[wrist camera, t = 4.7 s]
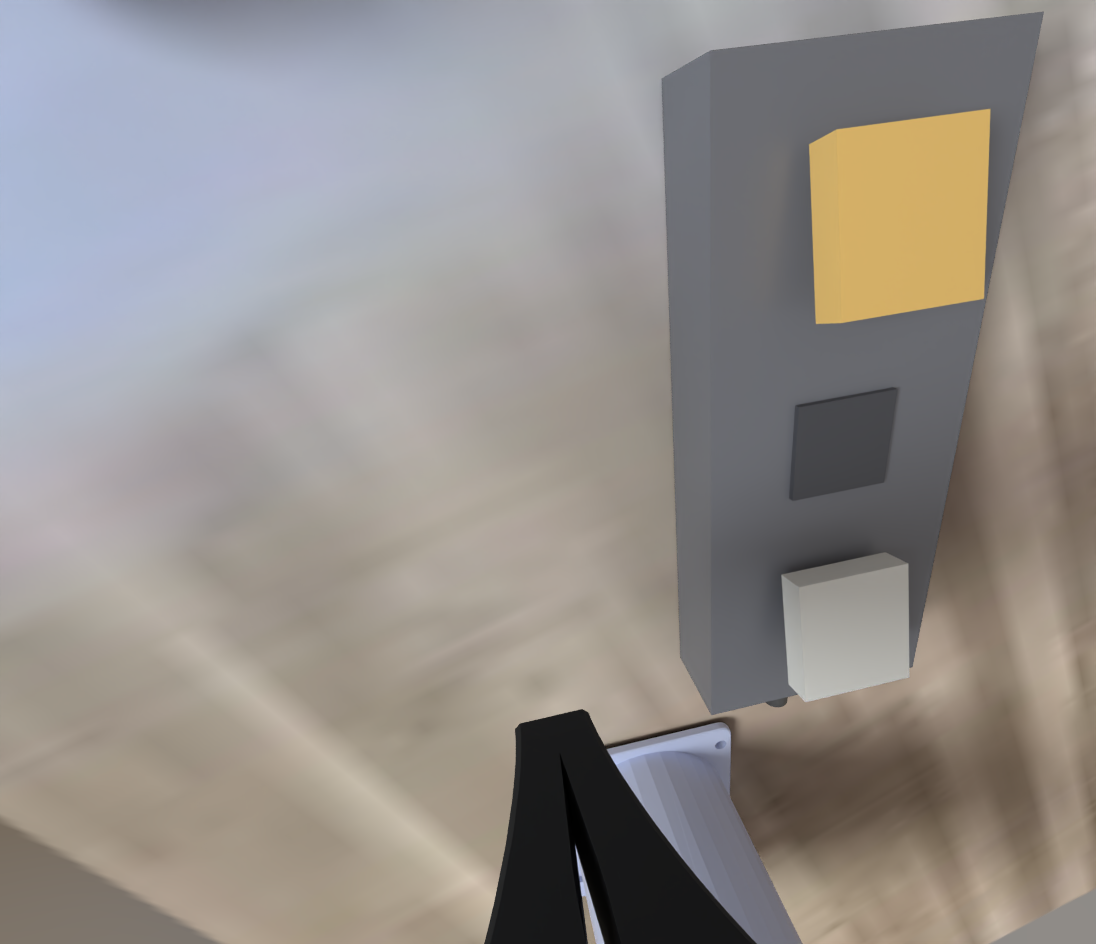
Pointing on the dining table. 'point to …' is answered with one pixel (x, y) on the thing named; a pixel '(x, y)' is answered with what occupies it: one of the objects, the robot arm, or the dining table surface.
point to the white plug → (846, 625)
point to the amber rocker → (899, 216)
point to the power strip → (808, 334)
